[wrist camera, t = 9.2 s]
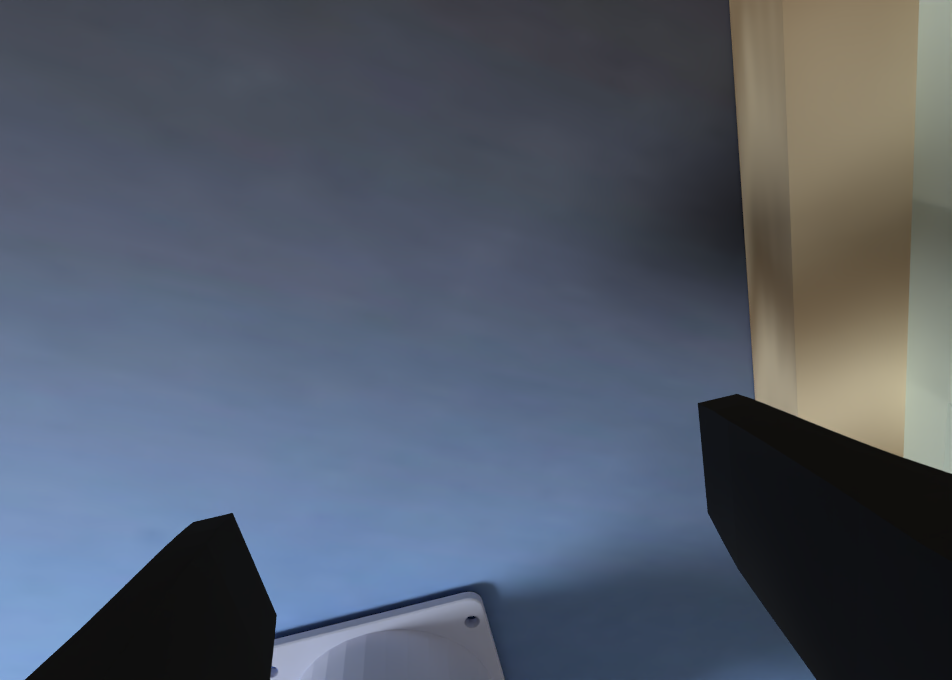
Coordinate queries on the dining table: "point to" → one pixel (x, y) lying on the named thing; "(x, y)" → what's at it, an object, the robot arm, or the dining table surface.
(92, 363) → the dining table surface
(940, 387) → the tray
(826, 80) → the shelf board
